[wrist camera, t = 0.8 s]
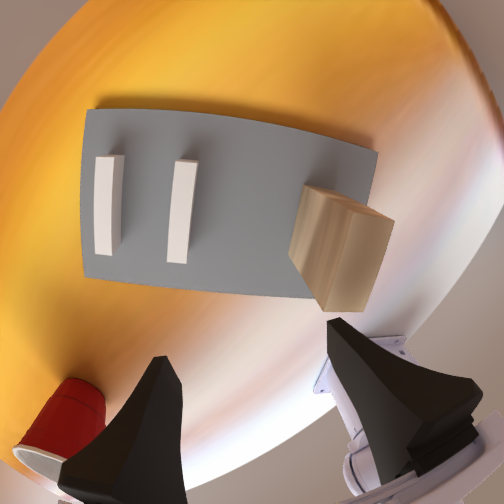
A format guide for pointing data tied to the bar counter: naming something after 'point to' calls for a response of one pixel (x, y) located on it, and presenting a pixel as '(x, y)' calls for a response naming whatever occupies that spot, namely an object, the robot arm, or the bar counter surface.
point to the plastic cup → (62, 428)
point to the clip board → (204, 198)
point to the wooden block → (338, 248)
